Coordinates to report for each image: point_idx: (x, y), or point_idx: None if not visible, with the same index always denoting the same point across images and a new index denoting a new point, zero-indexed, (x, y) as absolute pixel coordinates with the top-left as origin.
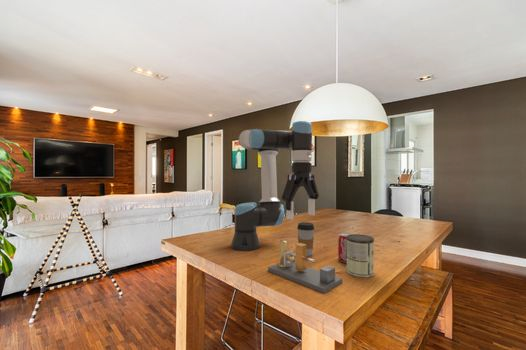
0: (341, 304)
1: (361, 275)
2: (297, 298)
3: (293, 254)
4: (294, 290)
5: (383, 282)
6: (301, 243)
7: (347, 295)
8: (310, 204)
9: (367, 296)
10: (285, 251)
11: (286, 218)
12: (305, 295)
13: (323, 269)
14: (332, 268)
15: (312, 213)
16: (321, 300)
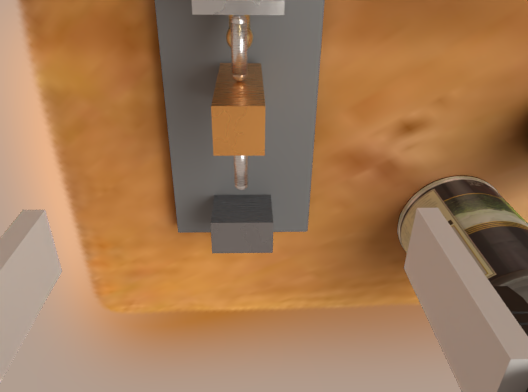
0: (163, 282)
1: (403, 247)
2: (75, 187)
3: (233, 52)
4: (108, 145)
5: (401, 300)
6: (260, 119)
7: (227, 271)
8: (460, 321)
9: (266, 305)
10: None
11: (22, 212)
12: (115, 192)
13: (217, 234)
14: (255, 250)
15: (414, 268)
16: (134, 240)
